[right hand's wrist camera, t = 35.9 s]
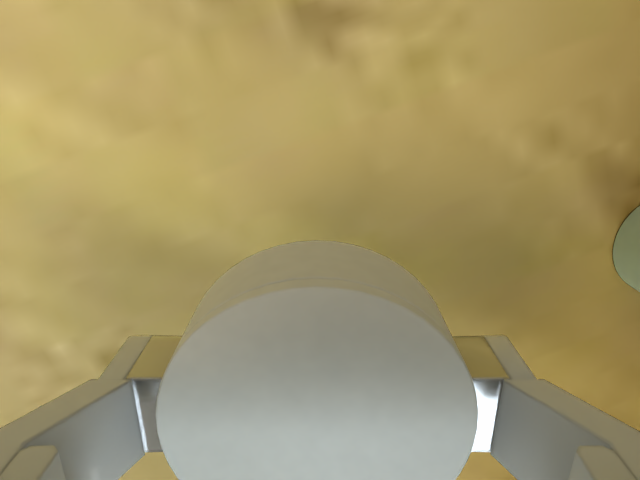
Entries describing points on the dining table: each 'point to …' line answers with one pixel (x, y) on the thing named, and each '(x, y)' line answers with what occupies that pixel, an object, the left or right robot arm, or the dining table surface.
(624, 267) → the green tall cylinder
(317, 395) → the lid
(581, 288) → the dining table surface
